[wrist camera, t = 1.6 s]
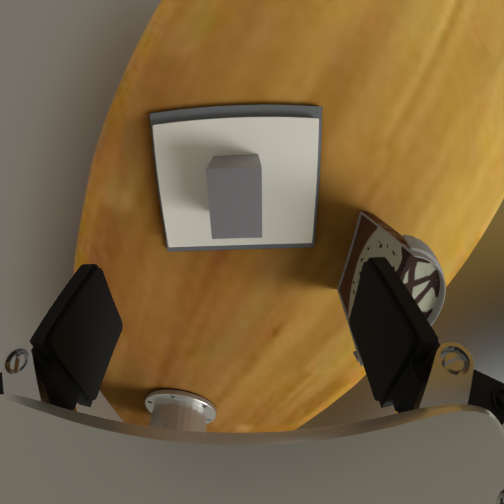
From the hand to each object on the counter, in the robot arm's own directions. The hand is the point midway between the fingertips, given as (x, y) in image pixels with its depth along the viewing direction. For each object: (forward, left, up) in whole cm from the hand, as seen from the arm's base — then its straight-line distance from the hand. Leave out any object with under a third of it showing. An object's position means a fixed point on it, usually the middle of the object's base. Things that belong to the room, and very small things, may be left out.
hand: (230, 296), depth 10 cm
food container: (-8, -14, -16) cm, 23 cm away
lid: (0, 0, -15) cm, 15 cm away
